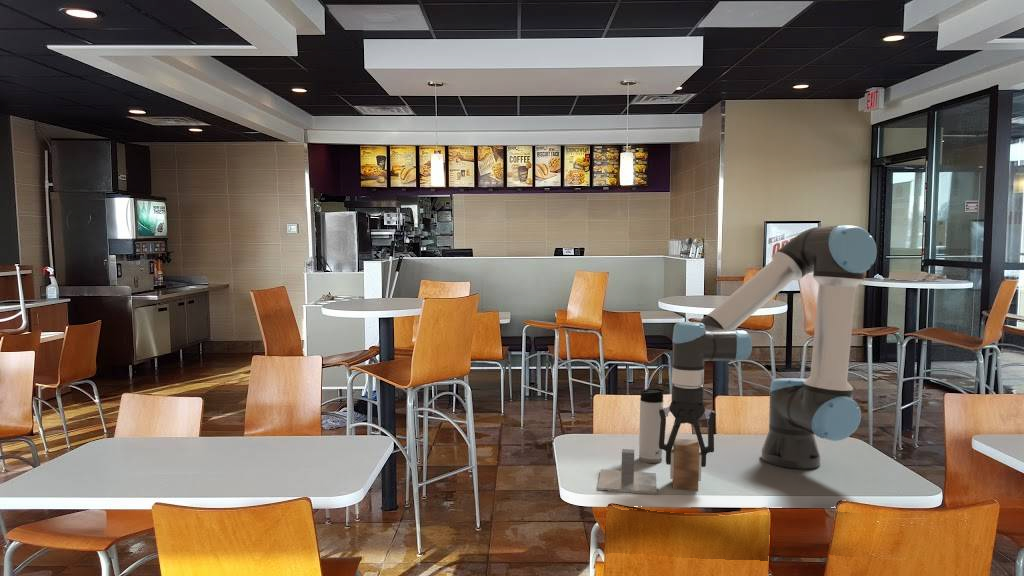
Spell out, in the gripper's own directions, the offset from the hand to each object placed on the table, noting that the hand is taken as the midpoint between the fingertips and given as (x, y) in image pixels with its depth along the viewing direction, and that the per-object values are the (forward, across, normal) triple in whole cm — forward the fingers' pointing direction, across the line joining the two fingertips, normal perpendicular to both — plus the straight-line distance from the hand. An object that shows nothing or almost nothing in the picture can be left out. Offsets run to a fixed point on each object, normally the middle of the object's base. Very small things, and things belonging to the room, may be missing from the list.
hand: (685, 478), depth 165 cm
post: (+2, +14, +1) cm, 14 cm away
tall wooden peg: (+2, 0, 0) cm, 2 cm away
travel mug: (+2, +8, -19) cm, 21 cm away
